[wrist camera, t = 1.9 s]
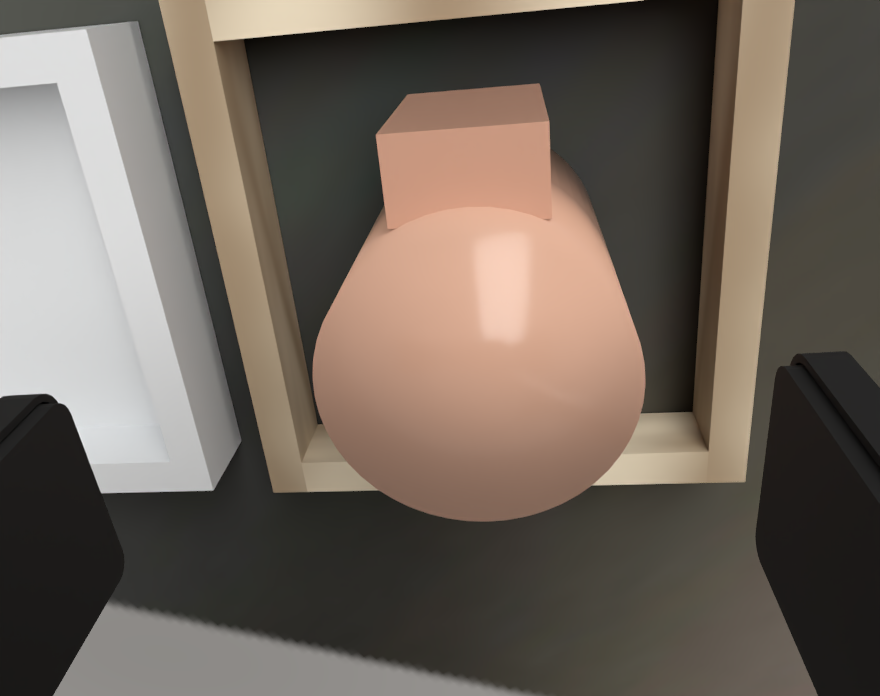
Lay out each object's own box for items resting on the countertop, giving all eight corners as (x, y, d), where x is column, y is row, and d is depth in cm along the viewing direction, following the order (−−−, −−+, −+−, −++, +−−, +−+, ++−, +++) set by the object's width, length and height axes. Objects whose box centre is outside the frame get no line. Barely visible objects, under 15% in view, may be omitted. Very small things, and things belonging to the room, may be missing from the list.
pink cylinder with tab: (596, 330, 21) (641, 518, 14) (395, 339, 22) (338, 524, 14) (596, 64, 18) (653, 130, 11) (362, 85, 19) (270, 158, 11)
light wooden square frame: (771, -69, 16) (802, -72, 15) (726, 440, 22) (745, 481, 20) (192, -9, 18) (157, -5, 16) (291, 452, 24) (273, 492, 22)
